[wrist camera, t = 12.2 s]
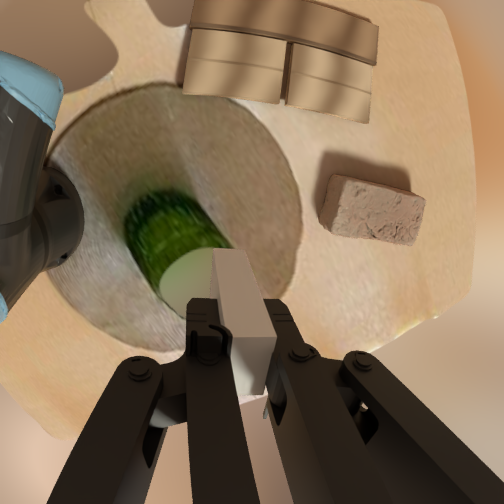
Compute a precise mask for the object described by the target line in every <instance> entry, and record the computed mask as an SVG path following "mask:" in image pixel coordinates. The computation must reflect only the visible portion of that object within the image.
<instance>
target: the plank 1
mask: <svg viewBox="0 0 504 504" xmlns="http://www.w3.org/2000/svg"><path fill="white" fill-rule="evenodd" d="M286 43H287V41H282V40H277V39H272V38H267V37H261V36H255V35H249V34H242V33H234V32H226V31H216V30H204V29H193V31H192V36H191V41H190V47H189V53H188V58H187V64H186V71H185V77H184V84H183V91H182V93H183V94H191V95H205V96H217V97H227V98H236V99H244V100H251V101H259V102H265V103H272V104H279V103H280V94H281V86H282V77H283V69H284V60H285V51H286Z"/></svg>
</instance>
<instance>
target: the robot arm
mask: <svg viewBox="0 0 504 504" xmlns="http://www.w3.org/2000/svg"><path fill="white" fill-rule="evenodd" d="M63 94H64V86H63V83H62V81H61V79H60V78H59V77H58V76H57V75H56V74H54V73H52V72H51V71H49V70H47V69H45V68H43V67H41V66H39V65H37V64H35V63H32V62H30V61H28V60H25V59H23V58H20V57H18V56H15V55H12V54H9V53H6V52H3V51H0V323H1V322H2V321H4V320H5V319H6V317H7V315H8V312H9V311H10V310H11V308H12V307H13V306H14V304H15V303H16V302H17V300H18V299H19V298H20V297H21V295H22V294H23V293H24V292H25V290H26V289H27V288H28V287H29V285H30V284H31V283H32V282H33V280H34V279H35V278H36V277H37V276H38V274H39V273H41V272H44V271H46V270H49V269H52V268H55V267H58V266H59V265H61V264H63V263H64V262H65V261H66V260H67V259H68V258H69V257H70V256H71V255H72V254H73V253H74V251H75V250H76V249H77V247H78V245H79V243H80V241H81V238H82V235H83V231H84V211H83V206H82V202H81V200H80V197H79V195H78V193H77V191H76V189H75V187H74V186H73V184H72V183H71V182H70V181H69V180H68V179H67V178H66V177H65V176H64V175H63V174H62V173H60V172H59V171H57V170H55V169H53V168H50V167H45V166H43V163H44V160H45V156H46V152H47V149H48V145H49V142H50V139H51V135H52V132H53V130H54V131H55V128H56V124H55V121H56V117H57V114H58V111H59V107H60V104H61V101H62V98H63ZM265 386H266V388H267V391H268V398H267V402H266V406H265V409H264V413H263V419H266V418H267V414H268V413H269V417H270V421H271V424H272V428H273V432H274V435H275V439H276V443H277V446H278V450H279V453H280V457H281V460H282V464H283V467H284V471H285V475H286V478H287V481H288V485H289V488H290V492H291V495H292V499H293V502H294V504H504V482H503V481H502V480H501V479H500V478H499V477H498V476H496V475H495V473H493V471H491V469H490V468H489V467H487V466H486V465H485V463H483V462H482V461H481V460H480V459H479V458H478V457H477V456H476V455H475V454H474V453H473V452H472V451H471V450H470V449H469V448H468V447H467V446H466V445H465V444H464V443H463V442H462V441H461V440H460V439H459V438H458V437H457V436H456V435H455V434H454V433H453V432H452V431H451V430H450V429H449V428H448V427H447V426H446V425H445V424H444V423H443V422H442V421H441V420H440V419H439V418H438V417H437V416H436V415H435V414H434V413H433V412H432V411H430V409H429V408H427V407H426V406H425V405H424V404H423V403H422V402H421V401H420V400H419V399H418V398H417V397H416V396H415V395H414V394H413V393H412V392H411V391H410V390H409V389H408V388H407V387H406V386H405V385H404V384H402V382H401V381H400V380H398V378H396V377H395V376H394V375H393V374H392V373H391V372H390V371H389V370H388V369H387V368H386V367H385V366H384V365H383V364H382V363H381V362H380V361H379V360H378V359H377V358H376V357H374V356H372V355H371V354H369V353H367V352H364V351H351V352H349V353H347V354H346V355H345V357H344V359H343V361H342V360H334V359H328V358H324V357H321V356H320V354H319V352H318V351H317V350H316V348H314V347H313V346H311V345H309V344H306V343H305V342H304V340H303V338H302V336H301V334H300V332H299V330H298V328H297V326H296V324H295V322H294V319H293V317H292V315H291V313H290V311H289V309H288V307H287V306H286V305H285V304H284V303H283V302H282V301H281V300H279V299H263V298H262V295H261V293H260V290H259V287H258V285H257V282H256V279H255V277H254V274H253V271H252V269H251V266H250V263H249V260H248V258H247V255H246V252H245V250H241V249H222V248H213V261H212V273H211V287H210V298H192V299H191V300H190V301H189V302H188V304H187V311H186V349H185V352H184V354H183V355H182V356H181V357H180V358H179V359H177V360H175V361H173V362H170V363H166V364H161V365H160V364H159V363H158V362H156V361H155V360H154V359H151V358H149V357H145V356H134V357H130V358H128V359H125V360H123V361H122V362H121V363H120V365H119V366H118V367H117V369H116V371H115V372H114V374H113V376H112V377H111V379H110V381H109V383H108V385H107V386H106V388H105V390H104V392H103V393H102V395H101V397H100V399H99V401H98V402H97V404H96V406H95V408H94V410H93V411H92V413H91V415H90V417H89V419H88V421H87V423H86V424H85V426H84V428H83V430H82V432H81V434H80V436H79V438H78V440H77V442H76V444H75V446H74V447H73V450H72V451H71V454H70V455H69V458H68V459H67V461H66V463H65V465H64V467H63V470H62V472H61V474H60V476H59V478H58V480H57V482H56V484H55V486H54V488H53V490H52V493H51V495H50V497H49V499H48V501H47V504H144V503H145V499H146V496H147V492H148V489H149V486H150V483H151V480H152V476H153V473H154V470H155V467H156V464H157V460H158V457H159V454H160V450H161V448H162V444H163V441H164V438H165V435H166V432H167V429H168V426H172V425H176V424H180V423H184V422H187V425H188V446H189V461H190V474H191V487H192V498H193V504H260V500H259V496H258V492H257V487H256V483H255V479H254V474H253V470H252V465H251V460H250V456H249V451H248V446H247V441H246V437H245V432H244V427H243V422H242V417H241V412H240V406H239V401H238V396H246V395H263V394H264V390H265ZM363 403H364V404H365V405H366V406H367V407H368V409H365V408H363V407H362V406H361V405H362V404H363Z"/></svg>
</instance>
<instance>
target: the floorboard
mask: <svg viewBox="0 0 504 504" xmlns="http://www.w3.org/2000/svg"><path fill="white" fill-rule="evenodd" d="M189 28H190V30H193V29H204V30H216V31H226V32H234V33H242V34H249V35H255V36H261V37H267V38H272V39H277V40H282V41H287V43H292V44H294V43H296V44H300V45H305V46H309V47H313V48H316V49H320V50H324V51H327V52H331V53H334V54H337V55H341V56H344V57H347V58H350V59H353V60H356V61H359V62H362V63H365V64H368V65H370V66H376V63H377V62H376V59H377V47H378V32H379V26H377V25H374V24H372V23H370V22H367V21H365V20H362V19H359V18H357V17H354V16H351V15H349V14H346V13H343V12H340V11H337V10H334V9H331V8H328V7H324V6H321V5H318V4H314V3H310V2H307V1H303V0H195V1H194V6H193V11H192V16H191V21H190V25H189Z"/></svg>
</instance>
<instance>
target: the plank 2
mask: <svg viewBox="0 0 504 504" xmlns="http://www.w3.org/2000/svg"><path fill="white" fill-rule="evenodd" d="M372 74H373V66H370V65H368V64H365V63H362V62H359V61H356V60H353V59H350V58H347V57H344V56H341V55H337V54H334V53H331V52H327V51H324V50H320V49H316V48H313V47H309V46H305V45H300V44H296V43H294V44H293V45H292V46H291V53H290V62H289V71H288V80H287V89H286V98H285V106H289V107H295V108H300V109H305V110H310V111H315V112H319V113H324V114H328V115H332V116H336V117H341V118H345V119H348V120H352V121H356V122H360V123H363V124H367V123H369V114H370V103H371V90H372Z"/></svg>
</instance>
